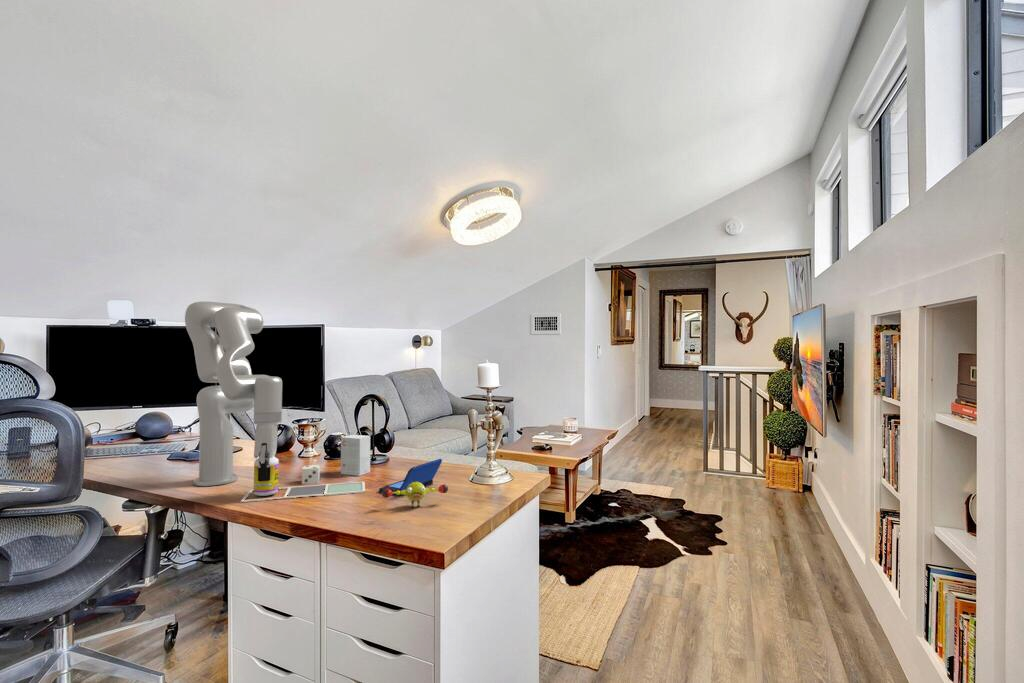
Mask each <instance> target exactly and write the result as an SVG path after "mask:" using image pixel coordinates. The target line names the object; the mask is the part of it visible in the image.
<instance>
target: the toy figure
mask: <svg viewBox="0 0 1024 683" xmlns="http://www.w3.org/2000/svg"><path fill="white" fill-rule="evenodd" d="M448 490H449V487H448V485H447V484H441V485H439V486H438V488H434V487H432V488H428V487H424V485H423V484H422V483H420V482H412V483H410V484H409V485H408V487H407V489H406V490H403V491H397V492H392V491H391V490H390V489H385V490H383V492H382V493H381V496H382V497H383V498H385V499H386V498H387V499H389V498H390V497H392V496H393V495H392V494H397V495H399V494H404V495H403V496H406V497H407V499H408V500H409V501H411V503H410V504H411V506H410V507H411V508H415V506H414V502H417V506H416V507H417V508H420V507H421V504H420V502H421V501H420V500H422V499H423V498H424V497H425V496H426V494H427V493H434V492H435V491H439V493H440V494H447V492H448Z"/></svg>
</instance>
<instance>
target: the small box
mask: <svg viewBox="0 0 1024 683" xmlns="http://www.w3.org/2000/svg"><path fill="white" fill-rule="evenodd" d="M369 473H371V435H362V434H350V435H345V436H342V437H341V436H340V475H346V476H347V475H348V476H358V477H360V476H363V475H366V474H369Z"/></svg>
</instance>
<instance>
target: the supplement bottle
mask: <svg viewBox="0 0 1024 683" xmlns="http://www.w3.org/2000/svg"><path fill="white" fill-rule="evenodd" d="M259 454H260V453H259ZM276 454H277V450H275V451H274V455H273V456H272V457H270V465H269V467H271V470H270V480H269V481H258V466H259V456H260V455H259V456H258V457H257V458H256V459H255V460H254V461H253V462H254V463H253V464H254V465H253V490H254V492H253V494H254V496H258V497H259V496H260V497H262V496H263V497H264V496H265V497H266V496H271V495H275V494H277V493H278V492H279V490H278V488H279V479H280V478H279V475H280V473H279V472H280V470H279V469H280V468H279V466H280V460H279V458H277V457H276V456H275V455H276ZM265 456H268V455H265ZM266 460H267V459H266Z"/></svg>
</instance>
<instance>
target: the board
mask: <svg viewBox="0 0 1024 683" xmlns="http://www.w3.org/2000/svg"><path fill="white" fill-rule="evenodd" d="M291 488H292V489H291ZM278 489H286V492H284V493H285V494H284V495H283V496H278V497H266V498H265V497H264V498H254V499H253V498H252V499H248V498H249V497H250V495H251V494H252V493H253V492H252V491H254V489H249V490H248V491H247V492H246V494H245V495H244V496H243V497H242V498H241V500H240V503H241V502H244V501H257V500H269V499H281V500H283V499H282V498H294V499H297V498H296V497H306V498H310V497H309V496H318V497H325V496H324V495H330V496H340V495H339V494H342V495H351V493H354V494H364V493H363V492H365V493H366V484H365V481H353V482H349V481H348V482H339V483H338V482H336V483H325V484H308V485H298V486H297V485H295V486H286V487H278ZM324 489H325V490H324ZM251 492H252V493H251ZM250 493H251V494H250ZM323 493H324V494H323ZM249 494H250V495H249ZM287 495H288V496H287ZM247 497H248V498H247ZM246 498H247V499H246ZM245 499H246V500H245ZM269 501H270V500H269ZM257 502H258V501H257Z"/></svg>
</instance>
